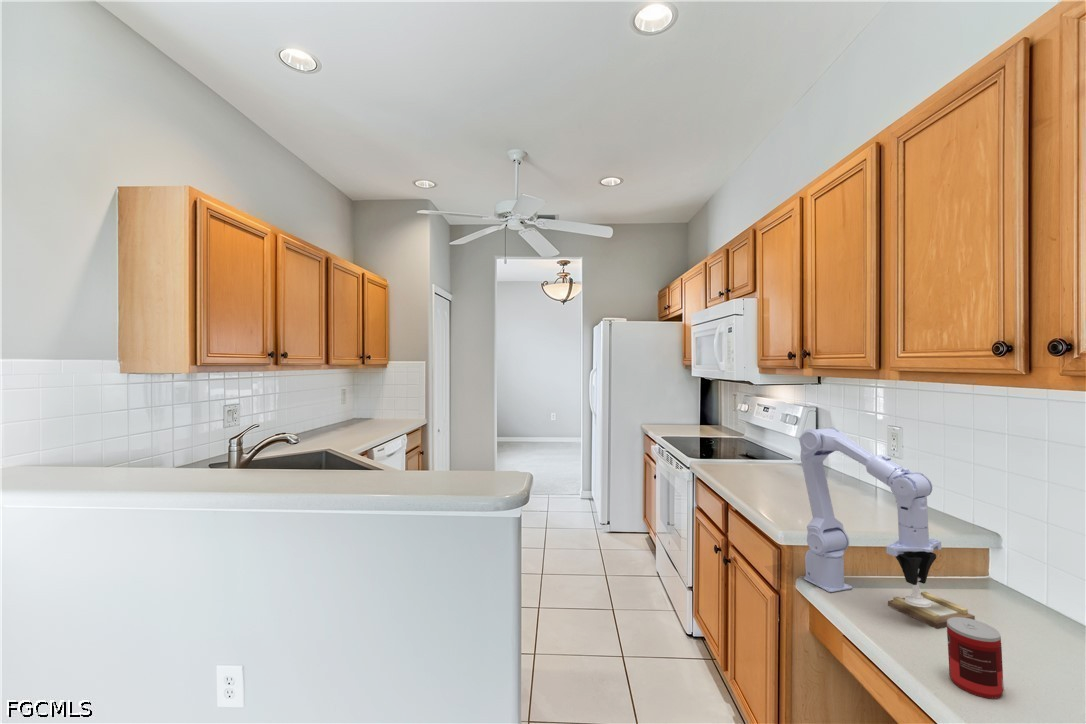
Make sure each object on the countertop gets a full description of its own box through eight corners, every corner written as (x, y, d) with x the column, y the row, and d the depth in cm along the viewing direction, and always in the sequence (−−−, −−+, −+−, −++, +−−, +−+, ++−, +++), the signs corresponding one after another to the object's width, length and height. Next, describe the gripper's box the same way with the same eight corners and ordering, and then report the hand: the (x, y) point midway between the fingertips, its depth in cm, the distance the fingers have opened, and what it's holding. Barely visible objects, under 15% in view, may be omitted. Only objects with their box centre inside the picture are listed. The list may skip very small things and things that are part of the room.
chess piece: (902, 597, 117) (898, 555, 117) (928, 601, 114) (923, 557, 115) (906, 605, 112) (902, 561, 113) (933, 608, 110) (928, 563, 111)
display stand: (887, 605, 123) (887, 596, 123) (923, 598, 126) (922, 589, 126) (937, 628, 111) (936, 618, 111) (974, 620, 114) (974, 610, 114)
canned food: (975, 671, 95) (972, 615, 96) (1016, 698, 87) (1013, 637, 88) (938, 673, 95) (935, 617, 95) (976, 700, 87) (972, 639, 87)
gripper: (905, 533, 108) (908, 594, 108) (953, 526, 112) (956, 585, 112) (877, 524, 115) (879, 581, 115) (923, 518, 119) (925, 573, 118)
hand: (915, 582), depth 114 cm, fingers closed on chess piece, 2 cm apart
